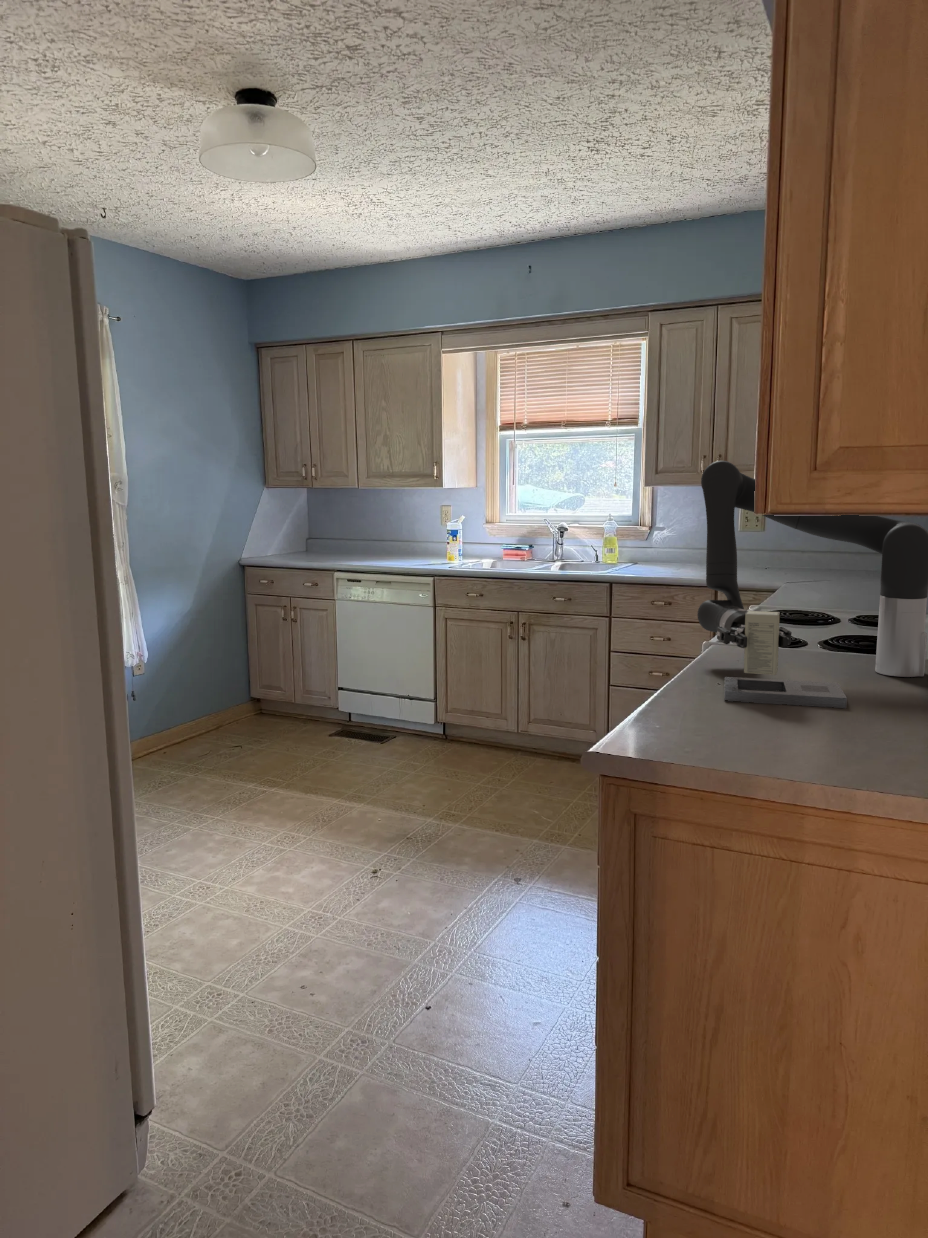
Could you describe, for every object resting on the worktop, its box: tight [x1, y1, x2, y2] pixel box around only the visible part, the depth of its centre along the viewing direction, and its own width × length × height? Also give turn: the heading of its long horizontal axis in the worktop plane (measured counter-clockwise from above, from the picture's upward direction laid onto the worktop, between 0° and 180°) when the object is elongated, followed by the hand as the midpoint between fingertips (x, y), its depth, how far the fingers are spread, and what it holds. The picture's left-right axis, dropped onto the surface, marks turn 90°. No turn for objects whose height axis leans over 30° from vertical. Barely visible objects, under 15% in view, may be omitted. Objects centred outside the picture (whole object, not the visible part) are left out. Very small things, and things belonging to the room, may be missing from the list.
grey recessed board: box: [723, 676, 848, 709], centre depth 168 cm, size 22×13×2 cm, turn 73°
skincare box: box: [743, 610, 781, 676], centre depth 168 cm, size 6×4×12 cm
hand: (765, 642), depth 165 cm, fingers closed on skincare box, 7 cm apart
